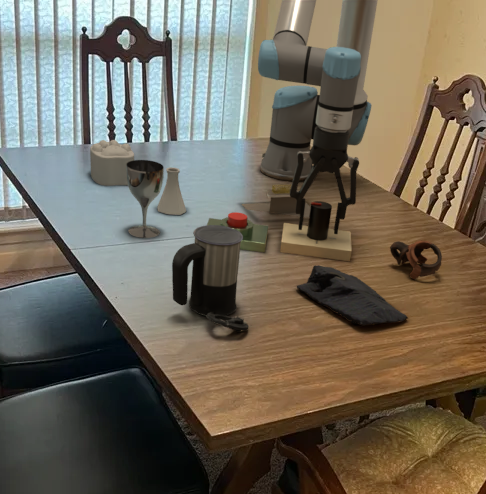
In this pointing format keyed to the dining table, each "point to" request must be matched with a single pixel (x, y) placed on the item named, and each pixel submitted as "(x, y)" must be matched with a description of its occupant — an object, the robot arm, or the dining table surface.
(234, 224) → the button
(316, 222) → the dial
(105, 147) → the lumpy-topped squat cylinder
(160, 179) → the wine glass
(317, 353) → the dining table surface
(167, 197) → the flask
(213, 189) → the dining table surface
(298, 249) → the timer panel
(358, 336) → the dining table surface
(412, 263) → the coiled brown leather belt
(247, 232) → the button housing
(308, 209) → the platform
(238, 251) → the milk frother
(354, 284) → the black cloth
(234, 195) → the dining table surface
